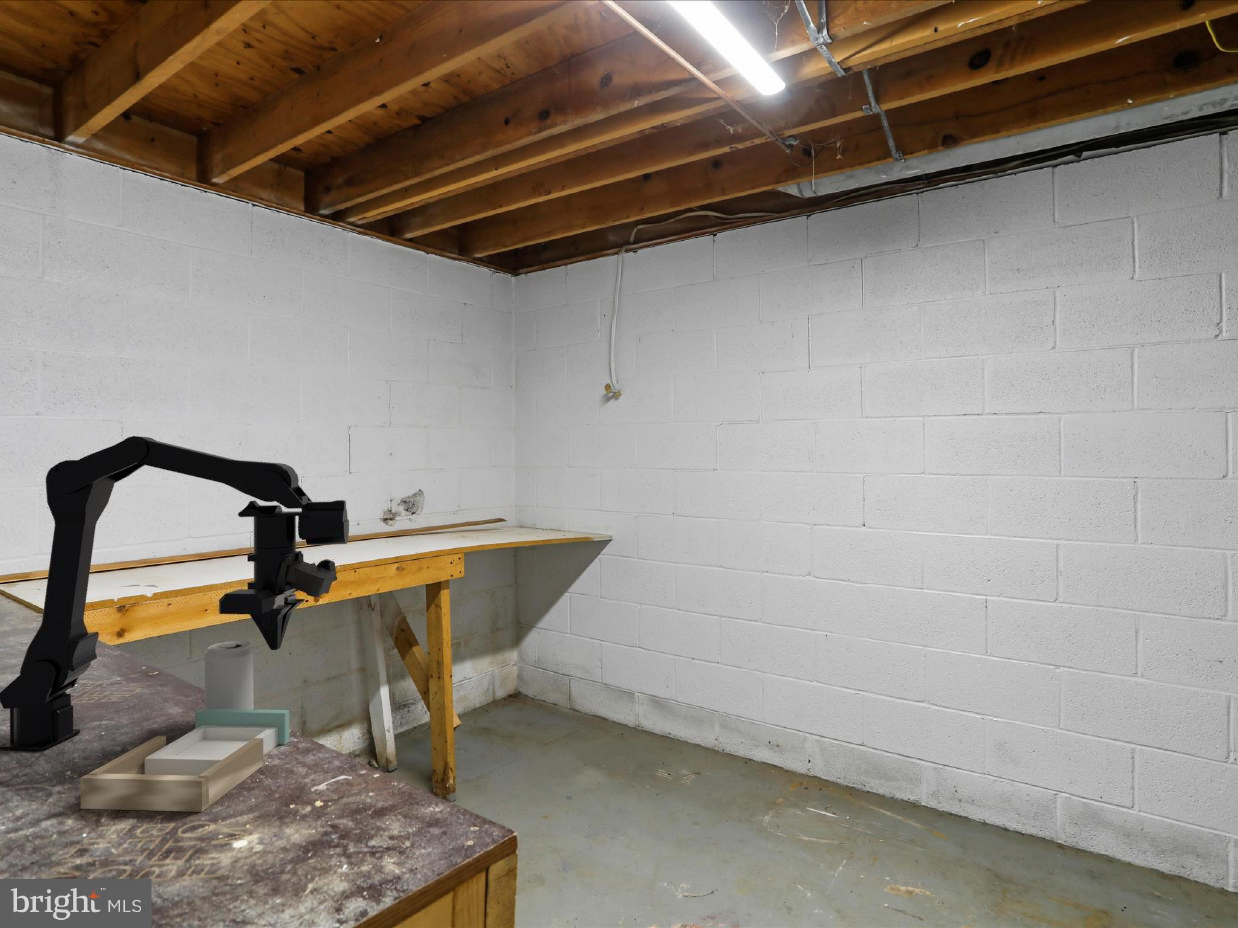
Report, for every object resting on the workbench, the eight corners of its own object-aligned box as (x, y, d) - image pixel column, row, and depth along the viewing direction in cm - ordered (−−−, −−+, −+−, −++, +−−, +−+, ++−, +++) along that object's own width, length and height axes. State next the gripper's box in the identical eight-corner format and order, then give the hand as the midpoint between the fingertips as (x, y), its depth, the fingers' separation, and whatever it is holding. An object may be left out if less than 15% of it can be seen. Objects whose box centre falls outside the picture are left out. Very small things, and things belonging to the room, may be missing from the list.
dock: (80, 808, 80) (80, 777, 80) (157, 762, 92) (157, 735, 92) (202, 811, 79) (202, 780, 79) (263, 764, 91) (263, 737, 91)
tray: (137, 777, 87) (136, 742, 87) (201, 739, 99) (200, 708, 99) (237, 780, 86) (237, 744, 86) (289, 740, 99) (289, 709, 99)
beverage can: (232, 733, 101) (232, 651, 101) (194, 730, 103) (194, 649, 103) (263, 717, 108) (262, 640, 108) (227, 714, 109) (226, 638, 109)
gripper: (294, 554, 95) (295, 668, 95) (354, 539, 114) (354, 634, 114) (216, 554, 96) (216, 667, 96) (288, 539, 115) (288, 633, 115)
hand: (275, 649), depth 105 cm, fingers closed
